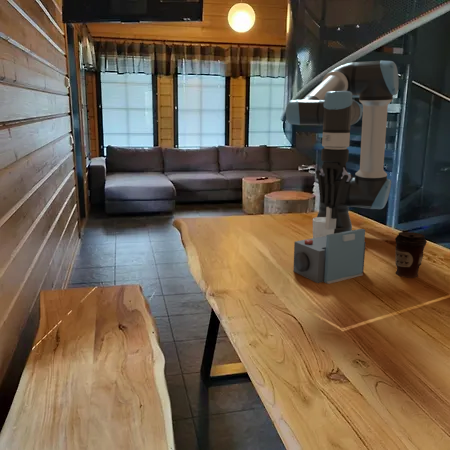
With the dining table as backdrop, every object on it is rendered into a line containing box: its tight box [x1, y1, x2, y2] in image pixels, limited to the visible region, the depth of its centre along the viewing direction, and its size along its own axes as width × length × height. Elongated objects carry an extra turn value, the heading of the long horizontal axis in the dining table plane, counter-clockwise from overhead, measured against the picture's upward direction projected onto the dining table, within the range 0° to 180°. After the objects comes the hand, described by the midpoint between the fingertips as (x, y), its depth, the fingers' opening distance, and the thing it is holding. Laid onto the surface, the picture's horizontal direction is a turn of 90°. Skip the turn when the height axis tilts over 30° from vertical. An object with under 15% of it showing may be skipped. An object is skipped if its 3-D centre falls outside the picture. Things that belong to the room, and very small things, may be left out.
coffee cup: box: [394, 231, 428, 279], centre depth 136 cm, size 9×8×13 cm
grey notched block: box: [292, 236, 367, 284], centre depth 138 cm, size 19×11×11 cm, turn 120°
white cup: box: [312, 216, 334, 238], centre depth 166 cm, size 8×8×10 cm
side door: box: [323, 228, 366, 285], centre depth 132 cm, size 14×2×14 cm, turn 120°
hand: (330, 228), depth 136 cm, fingers closed
